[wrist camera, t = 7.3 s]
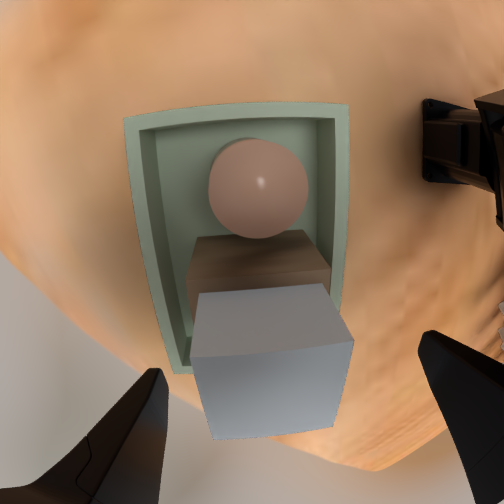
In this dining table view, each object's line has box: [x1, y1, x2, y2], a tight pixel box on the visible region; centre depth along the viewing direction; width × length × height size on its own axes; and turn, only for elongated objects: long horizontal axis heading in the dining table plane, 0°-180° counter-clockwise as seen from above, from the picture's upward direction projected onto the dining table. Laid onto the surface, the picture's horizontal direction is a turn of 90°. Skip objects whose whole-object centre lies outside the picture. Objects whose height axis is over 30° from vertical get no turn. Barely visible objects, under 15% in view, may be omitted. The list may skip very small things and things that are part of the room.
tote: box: [124, 102, 350, 374], centre depth 18 cm, size 12×17×4 cm
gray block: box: [190, 283, 354, 440], centre depth 13 cm, size 6×6×4 cm
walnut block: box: [185, 229, 331, 325], centre depth 18 cm, size 7×7×6 cm
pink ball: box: [208, 137, 308, 239], centre depth 15 cm, size 5×5×5 cm
